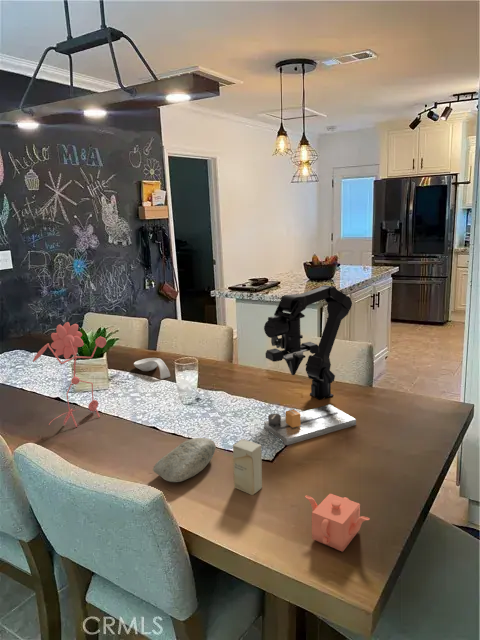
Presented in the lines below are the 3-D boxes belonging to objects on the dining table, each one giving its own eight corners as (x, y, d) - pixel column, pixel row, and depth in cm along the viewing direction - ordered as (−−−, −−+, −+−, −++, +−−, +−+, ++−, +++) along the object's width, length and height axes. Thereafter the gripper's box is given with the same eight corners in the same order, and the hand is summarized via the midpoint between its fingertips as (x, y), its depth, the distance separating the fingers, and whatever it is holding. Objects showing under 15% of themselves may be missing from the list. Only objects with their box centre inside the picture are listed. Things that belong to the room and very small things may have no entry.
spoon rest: (130, 369, 222) (128, 354, 220) (152, 363, 229) (151, 348, 227) (154, 382, 203) (152, 366, 202) (178, 375, 210) (177, 359, 209)
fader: (293, 420, 155) (293, 408, 154) (300, 425, 151) (300, 413, 150) (285, 422, 153) (285, 411, 152) (292, 427, 150) (292, 415, 149)
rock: (229, 459, 136) (176, 496, 122) (201, 450, 144) (148, 483, 130) (225, 435, 135) (171, 469, 120) (197, 427, 142) (143, 458, 128)
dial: (271, 418, 157) (270, 412, 157) (282, 420, 155) (282, 414, 155) (266, 424, 153) (266, 417, 153) (278, 425, 152) (278, 419, 151)
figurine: (120, 409, 176) (108, 316, 168) (56, 437, 157) (38, 333, 149) (95, 401, 186) (83, 313, 178) (32, 426, 166) (15, 329, 159)
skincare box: (233, 488, 123) (231, 445, 121) (244, 480, 127) (242, 438, 124) (253, 496, 120) (251, 451, 117) (263, 487, 123) (261, 444, 120)
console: (329, 409, 167) (329, 404, 167) (355, 424, 155) (355, 419, 154) (264, 427, 156) (264, 421, 156) (286, 445, 144) (286, 439, 143)
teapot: (318, 510, 113) (318, 478, 111) (380, 534, 104) (380, 500, 102) (292, 539, 104) (291, 505, 102) (357, 567, 95) (357, 530, 93)
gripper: (302, 323, 176) (302, 363, 179) (257, 331, 168) (258, 373, 172) (319, 329, 166) (320, 372, 170) (272, 338, 158) (274, 382, 162)
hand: (293, 374), depth 168 cm, fingers closed
